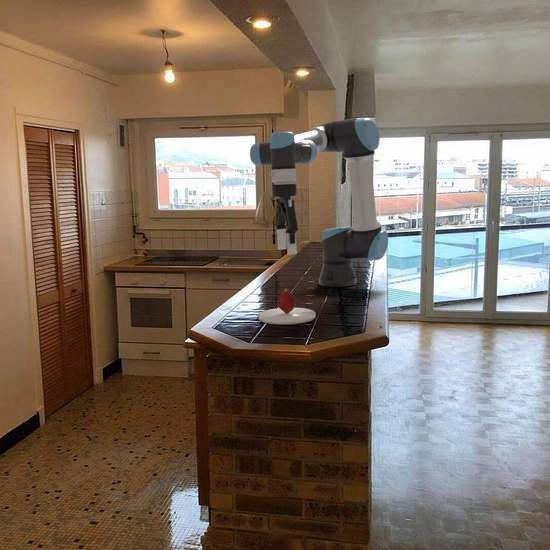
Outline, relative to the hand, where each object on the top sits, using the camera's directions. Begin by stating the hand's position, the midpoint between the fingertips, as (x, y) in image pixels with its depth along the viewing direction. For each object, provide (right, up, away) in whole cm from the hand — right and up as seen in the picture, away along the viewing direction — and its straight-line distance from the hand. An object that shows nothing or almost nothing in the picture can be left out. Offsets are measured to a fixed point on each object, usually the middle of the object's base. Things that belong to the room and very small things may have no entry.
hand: (287, 251), depth 187 cm
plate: (0, -21, +1) cm, 21 cm away
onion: (0, -20, +1) cm, 20 cm away
